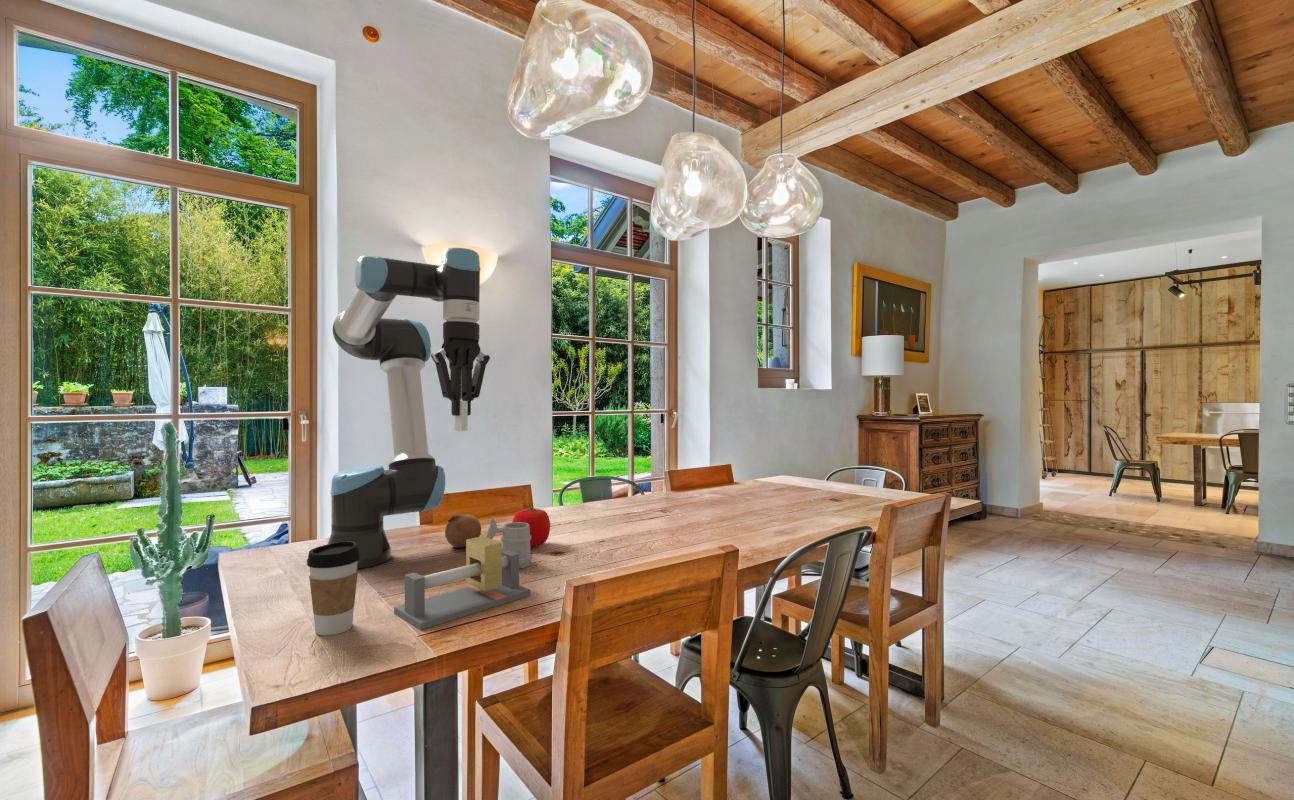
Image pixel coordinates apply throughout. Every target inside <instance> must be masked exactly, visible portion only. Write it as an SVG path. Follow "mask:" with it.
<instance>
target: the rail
mask: <svg viewBox="0 0 1294 800" xmlns="http://www.w3.org/2000/svg"><path fill="white" fill-rule="evenodd" d="M480 574H481V561H480V562H479V563H475V564H471V565H467V566H466V565H464V566H458V567H456V568H451V569H447V570H443V571H439V572H435V573H430V574H425V575H421V574H419V573H417V572H411V573H407V574H404V604H400V605H397V606H396V605H395V606H394V607H393V613H394V614H395V616H398V617H400V618H401V619H403V620H404V621H405V622H407V623H408V624H410V625H411V626H413V627H415V628H416V629H417V630H420V631H422V630H425V629H428V628H431V627H435V626H437V625H440V624H441V625H442V624H444V623H447V622H451V621H454V620H457V619H460V618H464V617H466V616H469V615H472V614H476V613H478V612H482V611H485V610H488V609H493V608H494V607H498V606H501V605H505V604H506V603H507V604H508V603H510V602H514V601H517V600H521V599H524V598H526V597H530V596H531V594H532V593H531V592H532V590H531V589H530V588H527V587H525V586H523V585H520V568H519V554H518V553H515V552H512V551H510V550H507V551H503V552H502V586H501V587H498V588H494V589H491V590H488V591H483V590H481V589H478V588H476V587H474V586H472V585H468V586H466V587H462V588H458V589H454V590H451V591H448V592H445V593H441V594H436V595H434V596H430V597H426V594H425V593H426V591H425V590H427V589H429V588H433V587H439V586H441V585H445V584H449V583H453V582H457V581H462V580H464V579H465V580H466V578H469V577H472V576H476V575H480ZM425 597H426V598H425Z"/></svg>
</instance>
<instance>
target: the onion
mask: <svg viewBox="0 0 1294 800" xmlns="http://www.w3.org/2000/svg"><path fill="white" fill-rule="evenodd" d="M446 522H447V524H446V526H445V531H444V535H445V539H446V541H447V542H448V543H449V545H451V546H452V547H454V548H457V549H460V548H461V549H463V548H466V540H467V539H471V538H476V537H481V536H482V535H481V534H482V525H481V522H480V520H479V519H478V518H477V517H476V516H474V515H472V514H455V515H453V516H451V517H450V519H448V520H447V521H446Z"/></svg>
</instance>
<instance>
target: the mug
mask: <svg viewBox="0 0 1294 800" xmlns="http://www.w3.org/2000/svg"><path fill="white" fill-rule="evenodd" d="M489 522H490V523H489V526H488V529H487V532H486V535H485V537H487V538H490V539H494V537H495V536H496V534H500V533H502V536H501V539H500V540H501V541H500V542H502V552H503V551H507V550H510V551H512V552H515V553H518V554H519V569H525V568H528V567H530V566H531V565H532V564H531V563H532V562H531V561H532V560H533V554H532V553H531V548H530V540H531V535H530V527H529V524H528V523H523V522H515V523H512V522H509V523H505V524H504V525H503V526H502V527H498V524H497V522H496V521H495V519H494V518H490V519H489Z"/></svg>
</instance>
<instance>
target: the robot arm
mask: <svg viewBox="0 0 1294 800" xmlns="http://www.w3.org/2000/svg"><path fill="white" fill-rule="evenodd" d="M441 262H442V265H438V264H437V265H436V264H431V263H422V262H415V261H408V260H403V259H402V260H401V259H400V260H399V259H393V258H386V257H382V256H380V255H379V256H371V255H369V256H368V255H362V256H359V257H358V259H357V261H356V266H355V268H354V269H355V270H354V283H355V286H356V288H357V289H356V291H355V293H354V294H353V296H352V298H351V300H350V302H349V304H348V305H347V307H346V309H345V310H344V311H342V312H340V313H338V315H337V316H336V317H335V320H334V321H333V324H332V335H333V338H334V341H335V342H336V344H337V345H338V346H339V347H340V348H341V350H343V351H344V352H345V353H347V354H349V355H350V356H353V357H355V358H356V359H357V358H358V359H361V360H368V361H369V360H370V361H379V367H380V369H381V371H384V372H385V373H386V377H387V378H386V380H387V389H388V390H387V391H388V401H389V402H388V403H389V413H390V414H389V415H390V423H391V437H392V447H393V456H394V457H393V458H392V459H391V461H389V463H388V469H385V468H384V466H383V465H380V464H372V465H371V464H370V465H361V466H355V467H350V468H346V469H343V470H340V471H339V472H337V473H335V474H334V475H333V476H332V478H331V486H330V493H329V494H330V495H331V497H330V498H331V500H330V501H331V502H330V503H331V504H330V505H331V511H330V512H331V530H330V531H331V532H330V536H329V538H328V541H327V544H331V543H336V542H341V541H354V542H357V543H358V549H359V553H360V556H359V557H360V559H359V560H358V561H357V569H365V568H370V567H373V566H378V565H380V564H384V563H386V562H387V561H389V560H390V559H391V558H392V556H391V555H392V549H391V548H392V547H391V545H390V542H389V539H388V536H387V533H386V531H385V529H384V517H385V516H393V515H403V514H409V513H417V512H418V513H422V512H424V511H431V510H435V509H436V508H438V507H439V506H440V505H441V502H442V501H443V498H444V495H445V490H446V473H445V471H444V468H443V467H442V466H440V465H436V458H435V457H434V456H433V455H431V454H430V453H429V445H428V437H427V435H428V434H427V426H426V418H425V417H426V416H425V407H424V397H423V388H422V379H421V378H422V377H421V371H422V370H423V369H424V367H425V366H426V362H428V361H429V360H430V358H431V359H432V361H433V362H434V364H435V368H436V371H437V377H438V381H439V386H440V390H441V395H442V397H443V398H446V399H449V401H450V402H451V411H450V413H451V415H452V416H454V431H455V432H468V423H469V422H468V419H469V417H468V416H471V415H472V414H471V413H472V410H471V409H472V408H471V407H472V403H471V402H472V401H474V399H478V398H479V397H480V395H481V390H482V386H483V385H482V384H483V381H484V375H485V372H486V366H487V364H488V363H489V361H490V359H491V356H490V355H488V354H484V353H483V352H482V351H481V346H480V344H479V341H480V324H479V323H478V322H479V321H480V287H481V286H480V285H481V284H480V283H481V282H480V281H481V279H480V277H481V275H480V274H481V266H480V256H479V253H478V252H477V251H476V250H473V249H470V248H463V247H451V248H450V247H449V248H446V249H445V250H444V251H443V256H442V261H441ZM397 296H403V297H404V296H405V297H415V298H425V299H430V300H432V301H435V302H442V319H443V321H445V322H443V323H442V338H443V342H442V344H441V348H440V349H439V350H438V351H436V352H432V351H431V350H432V349H431V348H432V343H431V336H430V334H429V331H428V329H427V328H426V326H425V325H424V323H422V322H420V321H417V320H410V319H397V318H382V317H383V316H384V315H385V313H386V311H387V310H388V309H389V307H390V306H391V304H392V302H393V301H394V299H395V298H396V297H397ZM446 359H447V360H448V362H449V364H448V365H449V369H448V365H447V362H446ZM474 362H476V363H475V365H474ZM449 371H450V373H449Z"/></svg>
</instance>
